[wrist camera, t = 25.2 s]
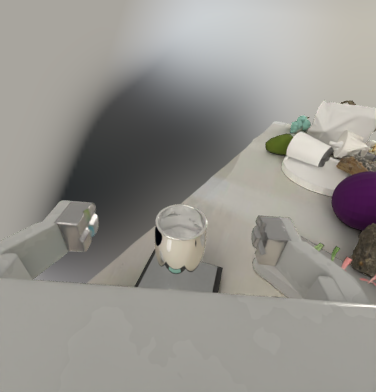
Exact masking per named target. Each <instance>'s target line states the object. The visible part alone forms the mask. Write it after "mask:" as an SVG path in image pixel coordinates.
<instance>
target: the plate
mask: <svg viewBox="0 0 376 392" xmlns="http://www.w3.org/2000/svg"><path fill="white" fill-rule="evenodd" d="M339 162H340V160H338V159H335V158H332V157H330V159H329V160H328V161H327V162H325V165H324V166H323V167H317V166H314V165H311V164H309V163H306V162H303V161H300V160H297V159H294V158H292V157H289V156H286V157H285V158H284V159H283V162H282V165H281V167H282V171H283V172H284V174H285V175H286V176H287V177H288V178H289V179H290V180H292V181H293V182H295V183H296V184H298V185H300V186H302V187H304V188H306V189H308V190H311V191H313V192H316V193H319V194H322V195H327V196H331V197H332V195H333V192H334V190H335V188H336V187H337V185H338V184H339V183H340V182H341V181H342V180H343V179H345V178H347V177H349V176H351V174H349V173H346V172H344V171H343V170H341V169H338V168H337V167H336V165H337V164H338V163H339Z"/></svg>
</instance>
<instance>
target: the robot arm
mask: <svg viewBox="0 0 376 392" xmlns="http://www.w3.org/2000/svg"><path fill="white" fill-rule="evenodd" d="M95 211H96V207H95V204H94V203H86V202H77V201H65V200H63V201H60V202H59V203H58V204H57V206H56V207H55V208H54V209H53V210H52V211H51V212H50V214H49V215H48V216H47V217H46V218H45V220H44V221H43V222H38V223H36V224H34V225H32V226H30V227H28V228H25V229H23V230H22V231H19V232H17V233H15V234H13V235H11V236H9V237H7V238H5V239H3V240H1V241H0V392H376V304H372V303H371V302H370V300H369V299H368V297H367V296H366V294H365V293H364V291H363V290H362V288H361V287H360V285H359V284H358V282H357V281H356V279H355V278H354V277H353V276H352V275H350V274H349V273H348V272H346V271H345V270H344V269H342V268H341V267H340V266H338V265H337V264H335V263H334V262H333V261H331V260H330V259H329V258H327V257H326V256H325V255H323V254H322V253H321V252H319V251H318V250H316V249H315V248H314V247H312V246H311V245H310V244H308V243H307V242H303V241H302V239H301V237H300V235H299V233H298V231H297V229H296V227H295V226H294V224H293V222H292V220H291V218H289V217H273V216H258V217H257V219H256V224H257V226H255V227H254V228H253V231H252V244H253V247H254V248H256V251H255V256H256V259H257V263H258V264H259V265H269V266H275V267H276V269H277V270H278V271H279V272H280V273H281V274H282V275H283V276H284V278H285V279H286V280H287V281H288V282H289V283H290V284H291V285H292V287H293V288H294V289H295V290H296V291H297V292H298V293H299V295H300V296H301V297H302V299H296V298H283V297H269V296H255V295H241V294H226V293H212V292H198V291H184V290H170V289H156V288H142V287H128V286H115V285H101V284H86V283H72V282H58V281H44V280H33V279H34V278H36V277H37V276H38V275H39V274H41V273H42V272H43V271H44V270H46V269H47V268H48V267H50V266H51V265H52V264H54V263H55V262H56V261H57V260H59V259H60V258H61V257H62V256H64V255H65V254H66V253H68V251H79V252H86V251H87V249H88V247H89V245H90V244H91V242H92V240H91V237H92V236H94V235H95V234H96V232H97V230H98V226H99V219H98V216H97V215H96V214H95Z"/></svg>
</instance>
